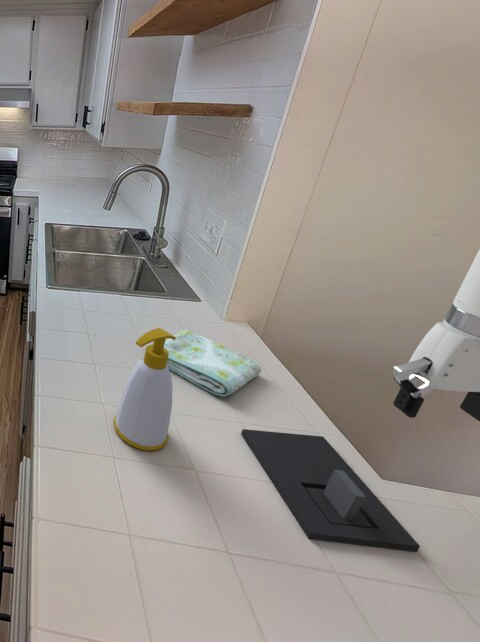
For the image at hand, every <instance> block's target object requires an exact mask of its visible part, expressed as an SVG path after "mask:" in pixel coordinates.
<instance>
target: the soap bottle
mask: <svg viewBox="0 0 480 642" xmlns="http://www.w3.org/2000/svg"><path fill="white" fill-rule="evenodd" d="M169 338H171V339H174V340H175V339H176V337H174V335H173V334H171V333H170V332H168V331H167V330H165V329H163V328H160V327H158V328H157V327H155V328H153V329H152V330H148V331H147V332H144V333H143V334H142V335H141V336H140V337H139V338H138V339H137V340H136V341H135V345H136V346H138V347H140V348H143V347H145V351H144V355H143V358H142V359H140V360H138V361H137V363H136V364H135V365H134V367H133V369H132V370H131V371H130V374H129V377H128V379H127V380H126V384H125V387H124V389H123V391H122V395H121V397H120V399H119V400H120V401H119V404H118V407H117V412H116V414H115V417H114V420H113V424H114V430H115V432H116V433H117V435H118V436H119V437H120V439H121V440H122V441H124V442H125V443H127V444H128V445H129V446H131V447H134V448H136V449H138V450H142V451H149V452H153V451H158V450H161V449H162V448H163V447H165V446H166V444H167V443H168V439H169V427H170V422H171V421H170V420H171V416H172V415H171V414H172V407H173V406H172V405H173V378H172V374H171V370H170V369H169V368H168V366H167V365H166V364H167V360H168V356H169V352H168V351H167V350H166V349H165V348H164V344H165V340H167V339H169ZM150 343H152V344H150ZM148 344H149V345H148ZM146 345H147V346H146Z"/></svg>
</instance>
